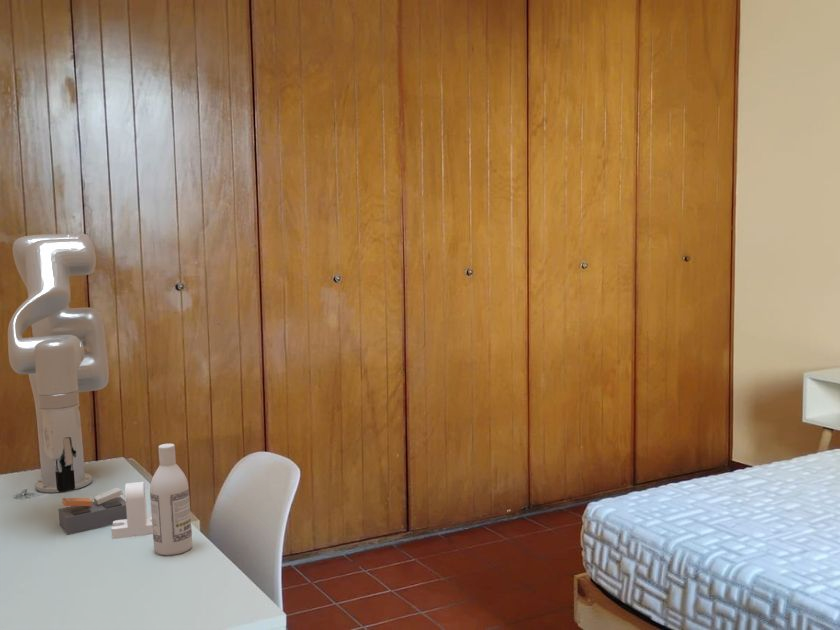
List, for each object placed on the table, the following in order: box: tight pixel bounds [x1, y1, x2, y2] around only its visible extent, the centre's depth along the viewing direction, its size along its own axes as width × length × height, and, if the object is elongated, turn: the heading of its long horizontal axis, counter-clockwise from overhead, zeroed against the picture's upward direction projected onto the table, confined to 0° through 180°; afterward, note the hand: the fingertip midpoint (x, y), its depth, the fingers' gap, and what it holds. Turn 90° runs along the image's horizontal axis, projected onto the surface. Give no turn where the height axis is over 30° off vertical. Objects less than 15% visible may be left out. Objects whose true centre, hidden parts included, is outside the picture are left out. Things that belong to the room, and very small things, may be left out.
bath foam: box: [149, 443, 193, 556], centre depth 157 cm, size 7×7×20 cm
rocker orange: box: [61, 497, 93, 507], centre depth 173 cm, size 3×5×1 cm, turn 125°
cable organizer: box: [111, 481, 153, 540], centre depth 168 cm, size 5×10×10 cm, turn 106°
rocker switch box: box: [57, 495, 127, 536], centre depth 175 cm, size 10×12×4 cm
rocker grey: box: [93, 486, 124, 505], centre depth 176 cm, size 3×5×1 cm, turn 125°
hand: (66, 489), depth 171 cm, fingers closed
